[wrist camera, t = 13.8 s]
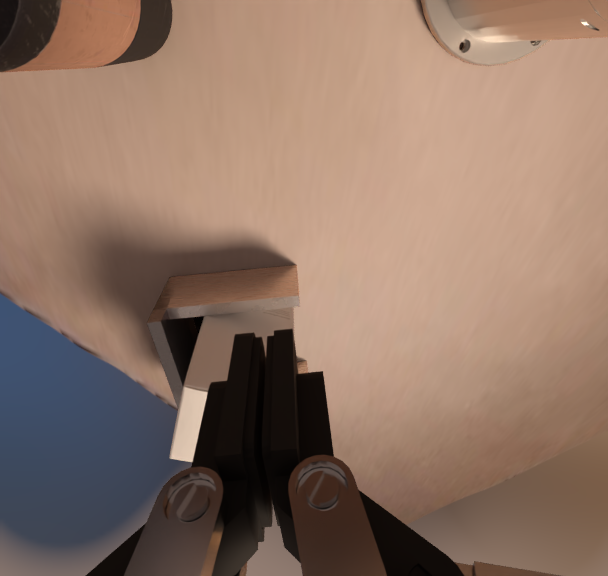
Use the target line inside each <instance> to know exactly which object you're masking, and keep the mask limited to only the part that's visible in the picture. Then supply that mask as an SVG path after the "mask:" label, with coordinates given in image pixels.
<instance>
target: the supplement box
mask: <svg viewBox="0 0 608 576" xmlns="http://www.w3.org/2000/svg"><path fill="white" fill-rule="evenodd" d="M283 329H293V334H294V307H291V308H280V309H270V310H260V311H250V312H239V313H229V314H219V315H209V316H204V319H203V322H202V325H201V328H200V332H199V335H198V338H197V341H196V345H195V348H194V352H193V355H192V358H191V362H190V365H189V368H188V372H187V375H186V379H185V382H184V386H183V390H182V394H181V399H180V404H179V409H178V414H177V419H176V424H175V429H174V435H173V440H172V446H171V451H170V459H177V460H182V461H189V462H193V457H194V453H195V448H196V444H197V439H198V434H199V430H200V425H201V421H202V416H203V412H204V407H205V403H206V398H207V393H208V389H209V386H210V384H211V382H218V381H227V377H228V371H229V366H230V360H231V354H232V348H233V342H234V336H235V334H242V333H253V332H254V333H255V336H256V337H262V339H263V344H264V350H265V355H266V348H267V336H273V335H274V330H283ZM294 342H295V337H294Z"/></svg>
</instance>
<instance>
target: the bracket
mask: <svg viewBox="0 0 608 576" xmlns="http://www.w3.org/2000/svg"><path fill="white" fill-rule="evenodd" d="M291 307H300V300H299V286H298V273H297V265H289V266H279V267H269V268H258V269H248V270H238V271H228V272H217V273H207V274H197V275H187V276H177V277H170V278H169V280H168V282H167V284H166V286H165V288H164V290H163V292H162V294H161V296H160V298H159V300H158V302H157V304H156V306H155V308H154V310H153V312H152V314H151V316H150V318H149V320H148V322H147V325H148V328H149V330H150V333H151V336H152V338H153V341H154V344H155V347H156V349H157V352H158V355H159V358H160V360H161V363H162V366H163V369H164V371H165V374H166V377H167V380H168V382H169V385H170V388H171V391H172V393H173V396H174V399H175V402H176V404H177V407H178V409H179V404H180V399H181V394H182V390H183V386H184V382H185V379H186V375H187V372H188V368H189V365H190V362H191V358H192V355H193V352H194V348H195V345H196V341H197V338H198V333H197V329H196V326H195V322H194V319H193V317H198V316H209V315H219V314H229V313H239V312H250V311H260V310H270V309H280V308H291ZM297 366H298V374H301V373H308V367H307V361H302V362H297Z"/></svg>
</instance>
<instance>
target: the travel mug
mask: <svg viewBox="0 0 608 576" xmlns="http://www.w3.org/2000/svg"><path fill="white" fill-rule="evenodd" d="M171 23H172V4H171V0H0V72H17V71H37V70H57V69H78V68H94V67H102V66H108V65H114V64H120V63H126V62H132V61H136V60H141V59H144V58H147V57H149V56H151V55H153V54H154V53H156V52H157V51H158V50H159V49H160V48H161V47H162V46H163V44H164V43H165V41H166V39H167V37H168V35H169V32H170V28H171Z"/></svg>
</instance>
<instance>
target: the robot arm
mask: <svg viewBox="0 0 608 576" xmlns="http://www.w3.org/2000/svg"><path fill="white" fill-rule="evenodd" d="M421 3H422V8H423V12H424V17H425V19H426V21H427V24H428V26H429V28H430V31H431V33H432V34H433V36H434V37H435V39H436V40H437V41H438V43H439V44H440V45H441V46H442V47H443V48H444V49H445V50H446V51H447V52H448V53H449V54H451V55H452V56H454V57H456V58H458V59H460V60H461V61H463V62H467V63H471V64H475V65H485V66H493V65H503V64H507V63H510V62H513V61H517V60H520V59H522V58H524V57H525V56H527V55H529V54H531V53H533V52H535V51H536V50H538V49H539V48H540V47H542V46H543V45H544V44H546V43H547V42H548V41H550V40H559V39H579V38H599V37H608V0H421ZM530 41H532V42H530ZM460 43H463V48H462V49H461V50H459V45H460ZM272 505H273V506H274V511H275V515H276V520H277V524H278V526H280V528H281V533H282V538H283V542H284V546H285V548H286V549H287V550H288V551H289V552H290V553H291V554H292V555H293V556H294V557H295V558H296V559H297V560H298V561H299V562H300V563H301V568H302V574H303V576H560V575H554V574H548V573H542V572H536V571H530V570H524V569H518V568H512V567H506V566H500V565H493V564H487V563H482V562H476V561H474V563H473V565H468V564H461V563H456V562H453V561H452V560H451V559H450V558H449V557H448V556H447V555H446V554H444V553H443V552H441V551H440V550H439V549H438V548H436V547H435V546H433V545H432V544H431V543H429V542H428V541H427V540H425V539H424V538H423V537H421V536H420V535H419V534H417V533H416V532H415V531H413V530H411V528H409V527H408V526H407V525H405V524H404V523H402V522H401V521H400V520H398V519H397V518H396V517H394V516H393V515H392V514H390V513H389V512H388V511H386V510H385V509H384V508H382V507H381V506H380V505H378V504H377V503H375V502H374V501H373V500H371V499H370V498H369V497H367V496H366V495H365V494H363V493H362V492H361V491H359V490H358V487H357V485H356V482H355V479H354V476H353V474H352V472H351V470H350V468H349V467H348V466H347V465H346V464H345V463H344V462H343V461H341V460H339V459H337V458H335V457H334V454H333V447H332V439H331V431H330V423H329V415H328V408H327V400H326V392H325V384H324V376H323V371H321V372H311V373H301V374H298V366H297V358H296V350H295V342H294V334H293V329H283V330H274V335H273V336H267V348H266V355H265V350H264V344H263V339H262V337H256V336H255V333H254V332H253V333H242V334H235V336H234V342H233V348H232V354H231V360H230V366H229V371H228V377H227V381H218V382H211V384H210V386H209V389H208V393H207V398H206V403H205V407H204V412H203V416H202V421H201V425H200V430H199V434H198V439H197V444H196V448H195V453H194V457H193V462H192V466H191V468H188V469H186V470H183V471H181V472H179V473H178V474H176V475H175V476H173V477H172V478H171V479H170V480H169V481H168V482H167V483H166V484H165V485H164V486H163V488H162V490H161V491H160V493H159V495H158V497H157V499H156V502H155V504H154V506H153V508H152V511H151V513H150V516H149V518H148V520H147V522H146V524H145V525H143V526H142V527H141V528H140V529H139V530H138V531H137V532H135V533H134V534H133V535H132V536H131V537H130V538H128V539H127V540H126V541H125V542H124V543H123V544H122V545H121V546H119V547H118V548H117V549H116V550H115V551H114V552H112V553H111V554H110V555H109V556H108V557H107V558H106V559H104V560H103V561H102V562H101V563H100V564H99V565H97V567H95V568H94V569H93V570H92V571H91V572H89V573H88V574H87V575H86V576H246V572H247V561H248V560H249V559H250V558H251V557H252V556H253V555H254V553H255V552H256V551H257V550H258V542H263V541H264V527H271V526H272V509H273V507H272Z"/></svg>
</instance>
